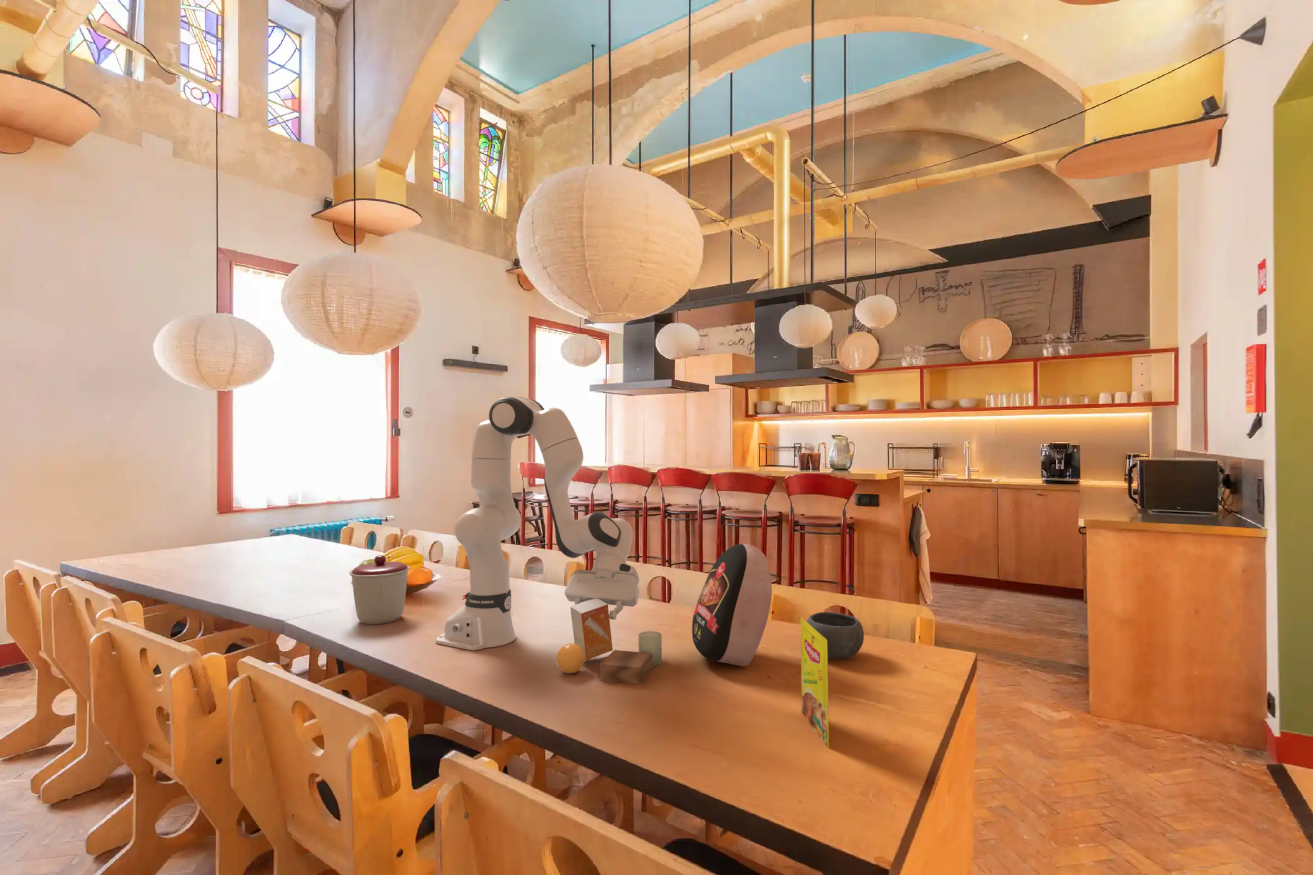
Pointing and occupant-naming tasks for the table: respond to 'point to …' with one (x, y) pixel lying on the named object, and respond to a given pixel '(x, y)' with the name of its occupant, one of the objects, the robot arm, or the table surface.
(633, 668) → the brown block
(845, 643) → the bowl
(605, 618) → the small box
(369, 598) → the canister
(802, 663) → the food package
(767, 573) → the packaged food
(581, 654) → the orange
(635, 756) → the table surface
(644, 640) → the pale green cylinder
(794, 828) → the table surface
